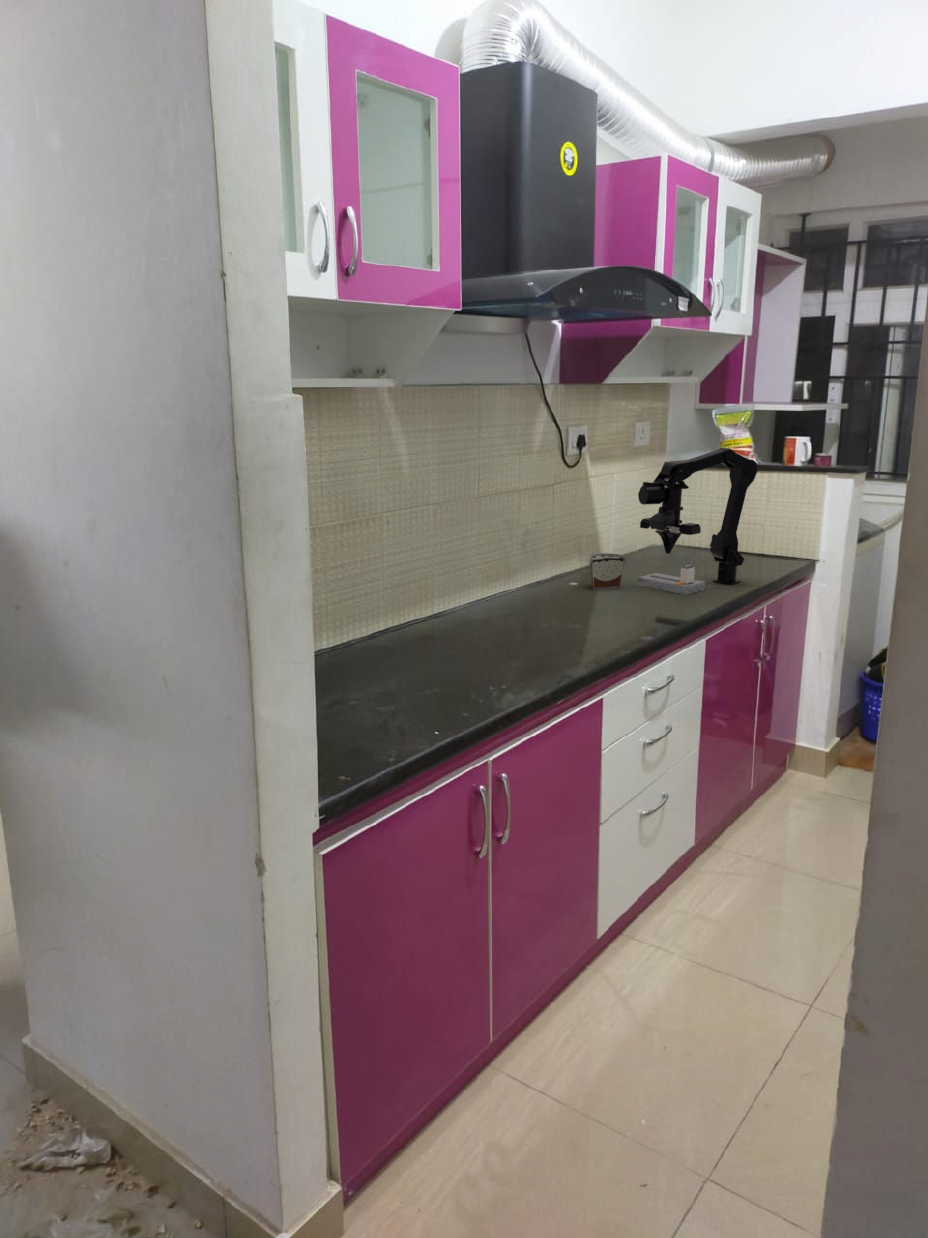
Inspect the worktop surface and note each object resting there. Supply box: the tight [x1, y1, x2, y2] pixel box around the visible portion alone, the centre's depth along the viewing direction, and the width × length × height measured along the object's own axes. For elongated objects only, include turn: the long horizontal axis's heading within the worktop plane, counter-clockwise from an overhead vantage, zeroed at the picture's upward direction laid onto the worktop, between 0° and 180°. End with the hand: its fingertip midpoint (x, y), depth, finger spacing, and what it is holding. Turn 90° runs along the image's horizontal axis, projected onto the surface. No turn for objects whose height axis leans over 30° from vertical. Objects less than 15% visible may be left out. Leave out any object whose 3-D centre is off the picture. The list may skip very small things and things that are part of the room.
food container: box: [588, 552, 627, 590], centre depth 289 cm, size 12×6×10 cm, turn 109°
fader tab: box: [679, 564, 696, 584], centre depth 283 cm, size 4×2×5 cm, turn 134°
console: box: [637, 572, 706, 596], centre depth 288 cm, size 10×18×3 cm, turn 44°
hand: (668, 553), depth 286 cm, fingers closed
